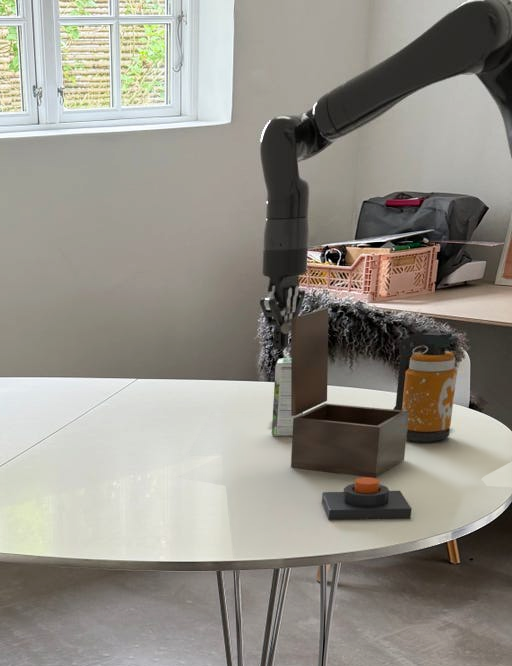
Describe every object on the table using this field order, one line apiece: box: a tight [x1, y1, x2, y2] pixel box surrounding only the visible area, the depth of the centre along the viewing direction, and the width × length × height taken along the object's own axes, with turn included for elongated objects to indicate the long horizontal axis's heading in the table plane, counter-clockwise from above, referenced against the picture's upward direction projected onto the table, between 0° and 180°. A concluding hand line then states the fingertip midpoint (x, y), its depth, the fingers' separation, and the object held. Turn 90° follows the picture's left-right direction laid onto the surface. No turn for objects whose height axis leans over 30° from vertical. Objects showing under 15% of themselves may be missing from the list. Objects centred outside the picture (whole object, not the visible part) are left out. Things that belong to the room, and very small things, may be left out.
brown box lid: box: [281, 307, 329, 416], centre depth 171 cm, size 17×13×5 cm
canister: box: [392, 329, 459, 443], centre depth 180 cm, size 9×11×20 cm
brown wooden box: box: [290, 402, 409, 479], centre depth 170 cm, size 16×13×9 cm
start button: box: [354, 476, 380, 493], centre depth 147 cm, size 4×4×2 cm
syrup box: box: [271, 357, 304, 437], centre depth 191 cm, size 6×6×14 cm
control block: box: [321, 483, 412, 521], centre depth 148 cm, size 12×9×4 cm
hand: (280, 348), depth 172 cm, fingers closed
